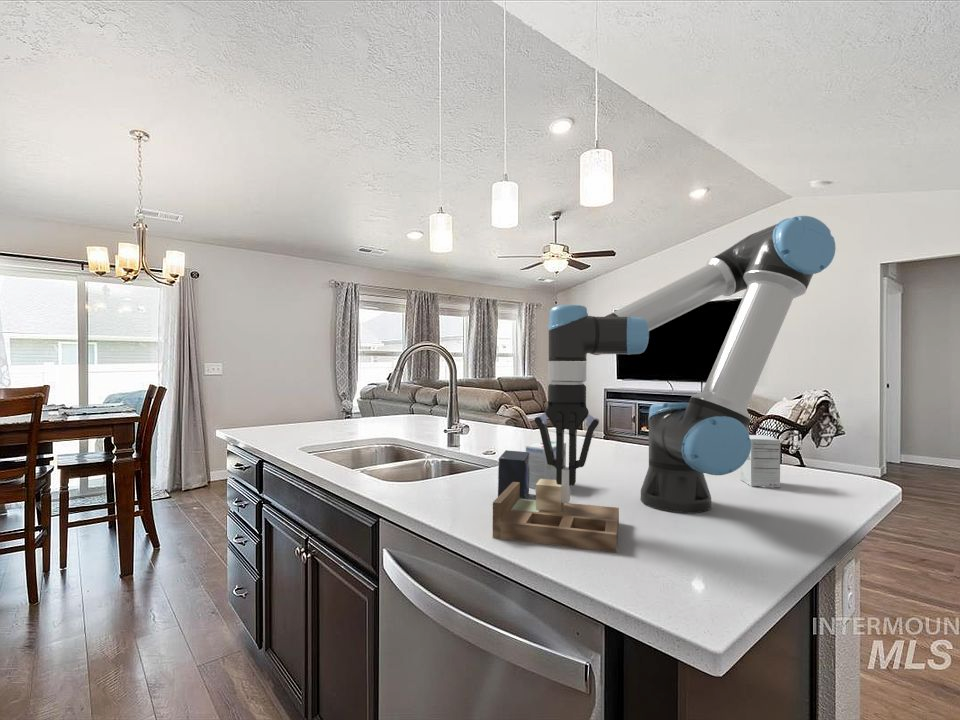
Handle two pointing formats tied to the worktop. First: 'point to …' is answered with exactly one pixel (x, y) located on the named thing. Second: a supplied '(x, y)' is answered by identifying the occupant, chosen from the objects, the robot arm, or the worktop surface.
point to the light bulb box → (541, 463)
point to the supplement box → (762, 462)
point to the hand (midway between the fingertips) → (565, 500)
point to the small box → (514, 471)
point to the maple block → (549, 495)
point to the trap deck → (554, 522)
